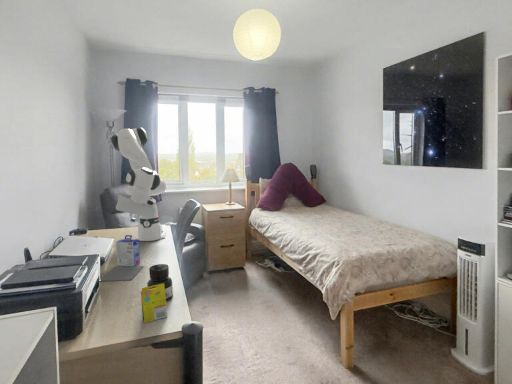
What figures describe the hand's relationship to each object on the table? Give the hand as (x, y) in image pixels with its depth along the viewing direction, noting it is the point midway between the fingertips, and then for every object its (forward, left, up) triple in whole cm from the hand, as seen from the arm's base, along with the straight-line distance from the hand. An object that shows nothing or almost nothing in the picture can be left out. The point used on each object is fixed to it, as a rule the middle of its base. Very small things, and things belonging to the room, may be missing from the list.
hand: (132, 221), depth 170 cm
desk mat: (+30, +4, -18) cm, 35 cm away
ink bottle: (+57, +29, -19) cm, 66 cm away
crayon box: (+72, +31, -19) cm, 80 cm away
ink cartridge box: (+17, +3, -19) cm, 25 cm away
